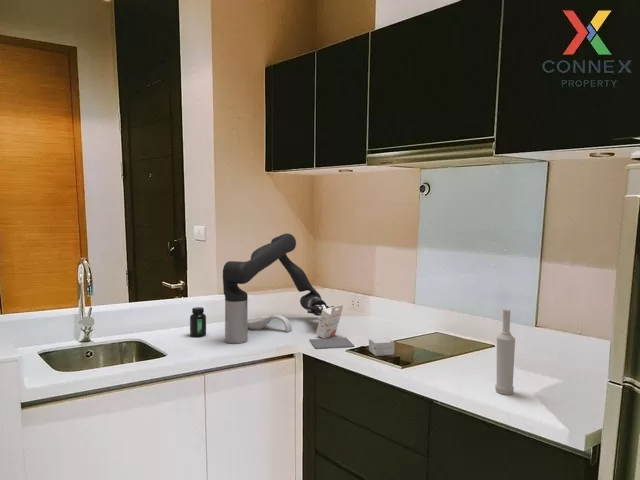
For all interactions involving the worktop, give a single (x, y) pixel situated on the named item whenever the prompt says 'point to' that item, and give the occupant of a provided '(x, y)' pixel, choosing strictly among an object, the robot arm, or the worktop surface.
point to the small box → (381, 346)
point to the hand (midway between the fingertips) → (325, 313)
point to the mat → (331, 343)
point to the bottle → (505, 357)
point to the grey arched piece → (262, 322)
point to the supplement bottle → (197, 322)
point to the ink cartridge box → (329, 321)
